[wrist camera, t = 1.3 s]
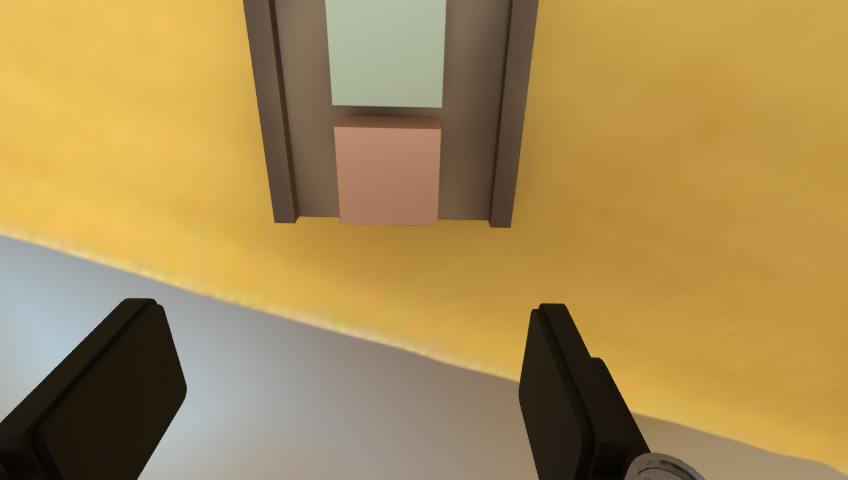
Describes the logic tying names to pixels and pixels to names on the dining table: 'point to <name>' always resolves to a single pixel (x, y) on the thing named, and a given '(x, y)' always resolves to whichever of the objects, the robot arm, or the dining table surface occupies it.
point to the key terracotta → (388, 170)
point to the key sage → (386, 52)
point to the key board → (459, 116)
